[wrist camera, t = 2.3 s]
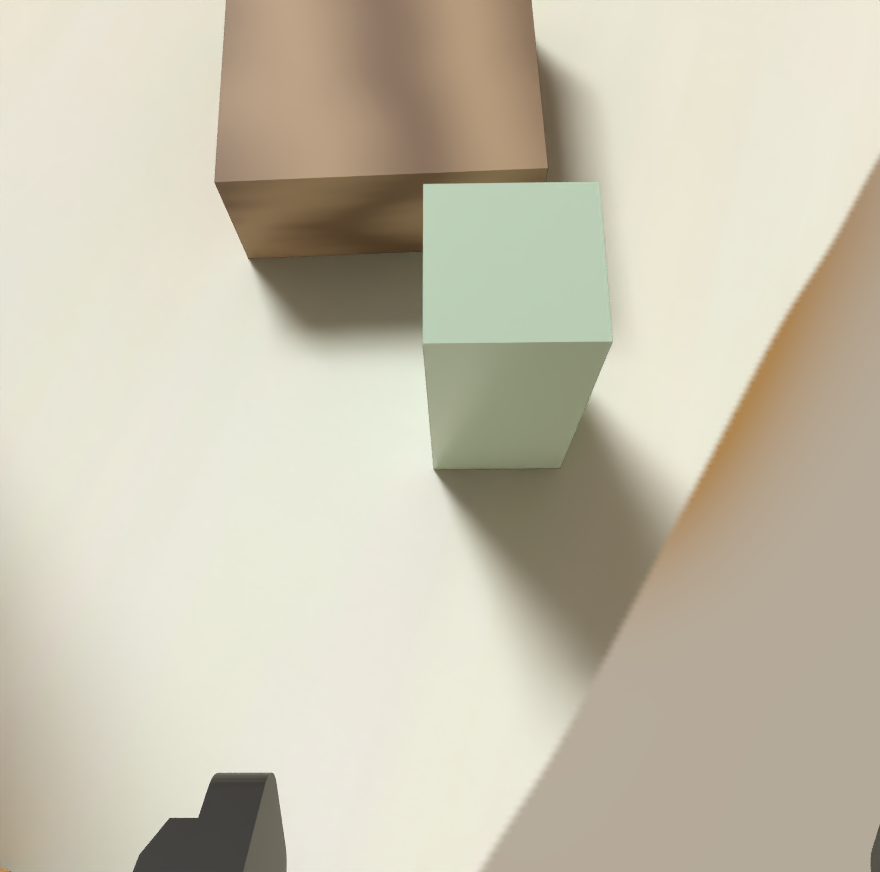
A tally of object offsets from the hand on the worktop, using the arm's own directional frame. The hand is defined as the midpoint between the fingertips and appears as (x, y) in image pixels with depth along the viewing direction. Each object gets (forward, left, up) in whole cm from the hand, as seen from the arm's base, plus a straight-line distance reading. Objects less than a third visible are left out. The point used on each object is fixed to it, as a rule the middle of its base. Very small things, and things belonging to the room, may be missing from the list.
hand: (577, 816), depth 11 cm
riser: (-4, +24, -16) cm, 29 cm away
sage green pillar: (0, +12, -15) cm, 19 cm away
